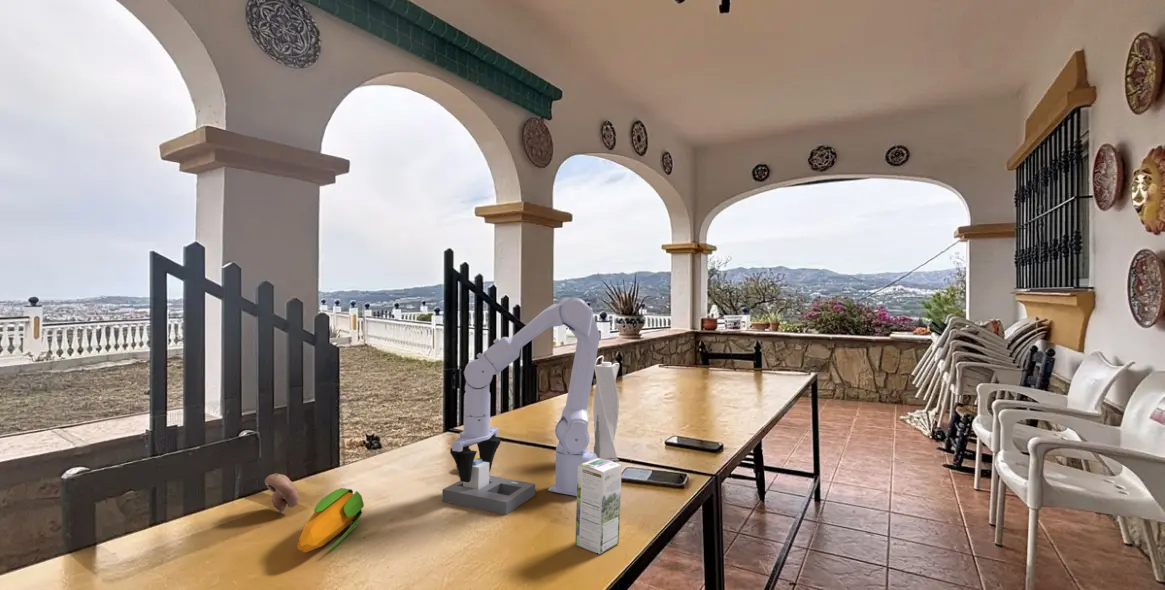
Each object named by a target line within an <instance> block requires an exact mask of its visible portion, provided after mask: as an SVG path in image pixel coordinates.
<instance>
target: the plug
mask: <svg viewBox="0 0 1165 590" xmlns="http://www.w3.org/2000/svg"><path fill="white" fill-rule="evenodd" d="M489 475H490V473H489V462H483V461H482V459H479V458H477V459H475V460H474V461H473V465H472V474H471V480H470V482H463V487H467V488H472V489H477V490H479V489H481V488H483V487H485V486H486V485H488V484H489Z"/></svg>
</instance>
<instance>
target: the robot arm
mask: <svg viewBox="0 0 1165 590" xmlns="http://www.w3.org/2000/svg"><path fill="white" fill-rule="evenodd" d="M563 325H564V326H566V327H567V328H568V329H569V330H570V331H571V333H572V334H573V335H574V337H575V338H576V340H577V341H576V346H575V351H574V357H573V364H572V369H571V375H570V380H569V386H568V389H567V390H568V391H567V397H566V401H565V406H564V408H563V410H562V411H561V416H560V418H559V420H558V422H557V423H556V424H555V429H554V432H555V436H556V438H557V440H559V441H558V444H557V445H556V446H555V477H554V478H555V482H554V484H552V486H550V487H549V488H548V490H547V491H549V492H552V493H553V492H554V493H558V494H562V495H563V494H564V495H569V496H572V497H573V496H574V497H577V479H578V465H580V464H583V463H586V462H588V461H591V460H594V459H597V455H596V454H594V452H590V451H589V450H588V446H589V444H590V434H589V431H588V430H589V429H588V428H589V415H588V407H589V400H590V395H591V389H592V383H593V378H594V373H595V369H594V368H595V362H596V359H597V356H598V355H597V354H598V351H599V344H600V339H601V334H600V330H599V328H598V326H597V323H596V319H595V318H594V313H593V309H592V307H591V306H589V305H588V304H587V303H586V301H585V300H583V299H582V298H580V297H563V298H561V299H559V300H558V301H557V302H556V303H553V304H552V305H550V306H548V307H547V308H545V309H544V310H542V311H541V312H540V313H539V314H538V315H537V316H535V317H533V319H531V321H529V322H528V323H527V324H526V325H524V327H522V328H521V329H520V330H519V331H517V332H516V333H515V334H514V335H513V336H511V337H509V336H502V337H501V338H498V337H497V338H495V339H494V340H493V344H492V345H491V346H490V347H488V348H487V349H486V350H485V351H484V352H482V353H481V352H479V353H477V355H476V358H477V359H473V360H471V361H469V362H468V363H467V364H466V365H465V368H464V371H463V375H464V379H465V385H464V391H465V392H464V394H463V429H462V432H459V437H458V438H456V439H455V440H453V441H452V447H451V448H450V451H449V453H450V455H451V457H452V458H453V460H454V463H455V466H456V465H457V468H458V471H457V472H458V475H459V481H462V482H470V480H471V474H472V465H473V461H474V458H475V455H477V452H478V456H480V459H482V461H483V462H489V471H490V469H491V466H492V467H493V462H494V458H495V454H496V452H497V450H498V448H499V446H500V444H501V438H498V436H499V427H494V426H491V392H490V384H491V382H492V380H493V377H494V375H498V374H500V373H501V372H502V371H503V370H504V369H505V368H507V367H508V366H510V364H512V363H513V362H514V361H516V360H517V359H518V358H519V357H520V353H521V352H520V351H521V348H524V346H526V345H527V344H528V343H529V342H531V341H532V340H534V339H535V338H537V337H538V336H539V335H540V334H542V333H543V332H545V331H546V330H547V329H548V328H554V327H562V326H563ZM596 363H597V362H596ZM474 445H477V449H478V451H476V450H471V448H470V447H471V446H474Z"/></svg>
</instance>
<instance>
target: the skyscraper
mask: <svg viewBox="0 0 1165 590" xmlns="http://www.w3.org/2000/svg"><path fill="white" fill-rule="evenodd" d="M600 358H602V359H601V361H600V362H601V364H597V363H598V360H599V359H600ZM604 359H605V357H604V355H599V356H598V357H596V362H595V368H594V373H595V374H594V375H595V378H596V379H595V380H596V382H595V388H594V393H593V407H592V408H593V409H592V410H593V412H592V414H593V430H594V446H593V453H594V454H596V455H597V458H600V459H606V460H609V461H612V462H614V461H619V462H620V459H619V458H618V456H617V453H616V448H615V445H614V442H615V436H616V432H617V428H618V423H619V422H618V421H619V412H620V410H619V407H620V406H619V405H620V403H619V402H620V400H619V391H618V386H617V381H616V380H617V376H618V374H619V373H618V372H619V369H620V363H619V362H615V363H613V364H612V362H611V361H604Z"/></svg>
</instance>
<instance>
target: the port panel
mask: <svg viewBox="0 0 1165 590" xmlns="http://www.w3.org/2000/svg"><path fill="white" fill-rule="evenodd" d="M441 492H442V495H441V497H442V499H441V501H442V502H445V503H449V504H454V505H459V506H462V507H463V506H464V507H469V508H473V509H478V510H483V511H486V512H492V513H496V514H501V515H505V516H506V515H508V514H509V513H511V512H512V511H514V510H515V509H517V508H518V507H520V506H522V505H523V504H524V503H526V502H527V501H528V500H530V499H531V498H533V497H534V496H536V483H535V482H534V483H533V482H528V481H522V480H515V479H511V478H506V477H500V476H494V475H490V474H489V484H488V485H486V486H485V487H483V488H481V489H479V490H477V489H472V488H467V487H463V482H462V481H460V480H459V481H457V482H454V483H452V484H450V485H449V486H446V487H445V488H442V491H441Z"/></svg>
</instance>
